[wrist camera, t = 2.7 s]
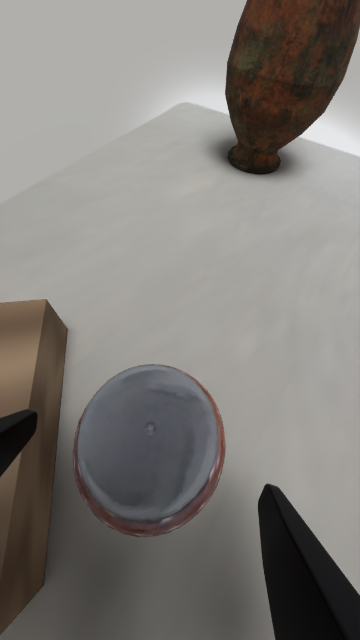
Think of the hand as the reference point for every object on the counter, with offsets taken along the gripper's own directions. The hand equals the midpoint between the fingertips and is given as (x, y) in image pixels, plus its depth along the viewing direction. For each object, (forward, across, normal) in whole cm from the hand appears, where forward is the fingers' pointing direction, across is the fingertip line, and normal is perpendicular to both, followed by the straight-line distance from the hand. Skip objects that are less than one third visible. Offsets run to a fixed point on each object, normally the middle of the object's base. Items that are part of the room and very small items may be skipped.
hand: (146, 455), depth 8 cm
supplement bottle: (+7, 0, +6) cm, 9 cm away
